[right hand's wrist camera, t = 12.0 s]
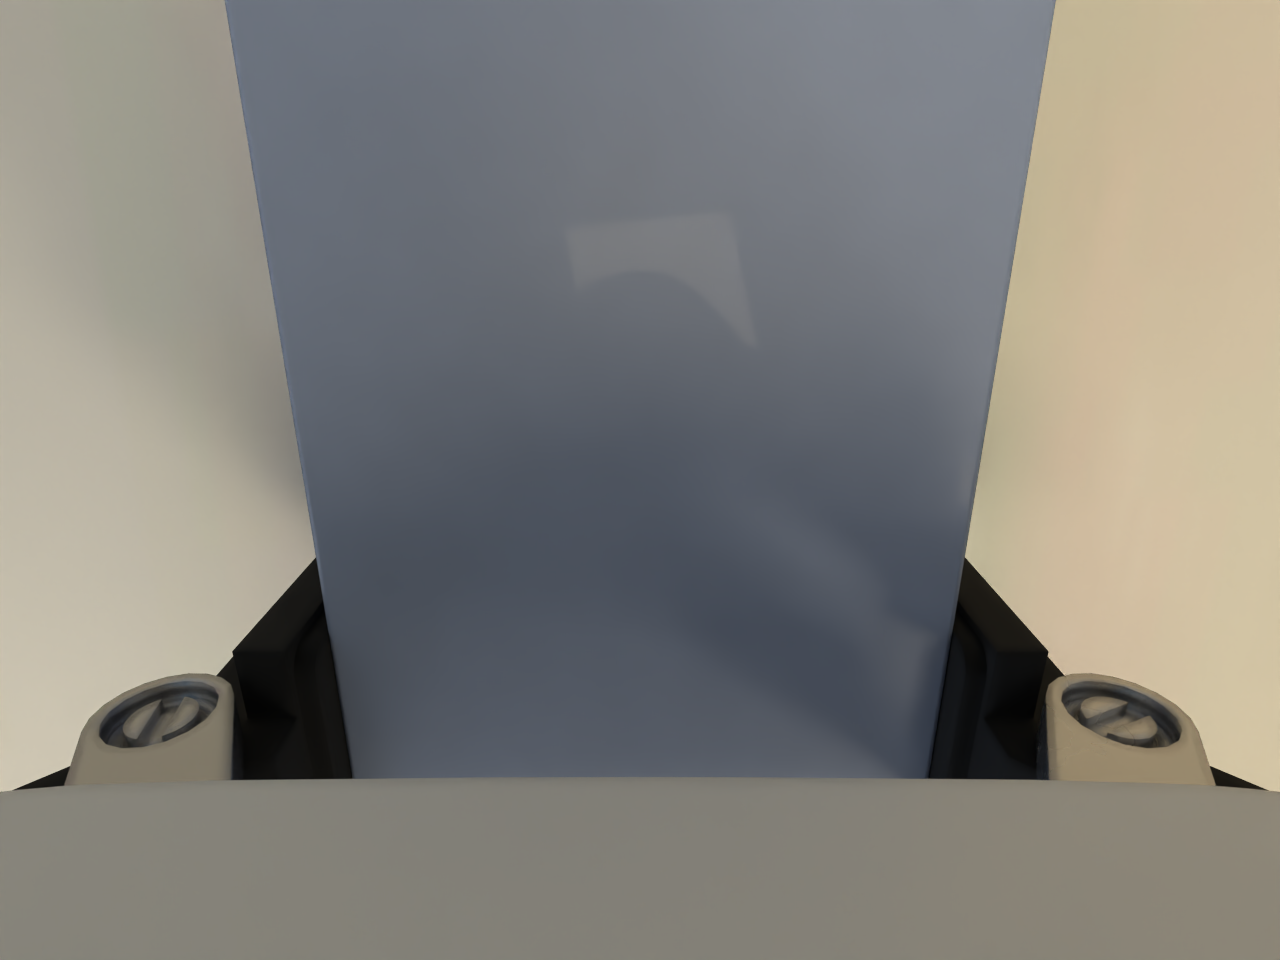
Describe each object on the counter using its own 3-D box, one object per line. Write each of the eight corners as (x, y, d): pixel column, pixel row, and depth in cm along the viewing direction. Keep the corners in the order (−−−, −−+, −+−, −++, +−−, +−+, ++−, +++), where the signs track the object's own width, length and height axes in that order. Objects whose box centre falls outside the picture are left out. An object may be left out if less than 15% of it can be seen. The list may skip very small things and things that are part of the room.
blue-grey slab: (439, -153, 12) (91, -777, 4) (840, -153, 12) (1189, -779, 4) (501, 675, 18) (393, 1040, 10) (779, 675, 18) (887, 1041, 10)
